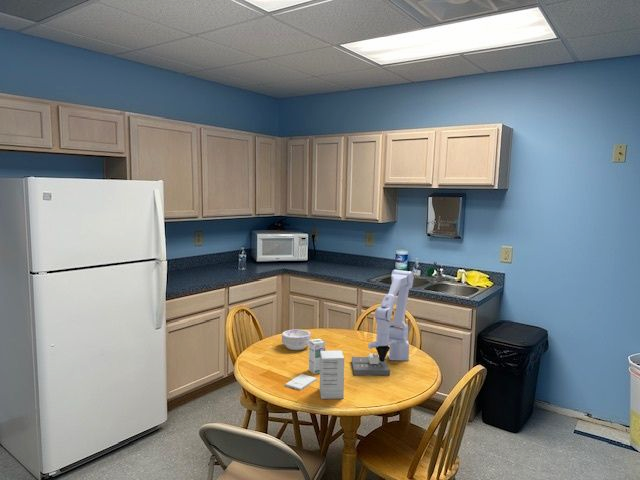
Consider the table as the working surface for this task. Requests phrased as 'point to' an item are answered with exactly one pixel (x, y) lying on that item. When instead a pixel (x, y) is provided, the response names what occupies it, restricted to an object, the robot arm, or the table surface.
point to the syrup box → (315, 354)
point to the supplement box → (331, 374)
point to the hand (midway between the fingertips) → (381, 361)
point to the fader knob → (373, 358)
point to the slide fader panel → (369, 367)
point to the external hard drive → (300, 382)
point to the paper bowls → (296, 339)
